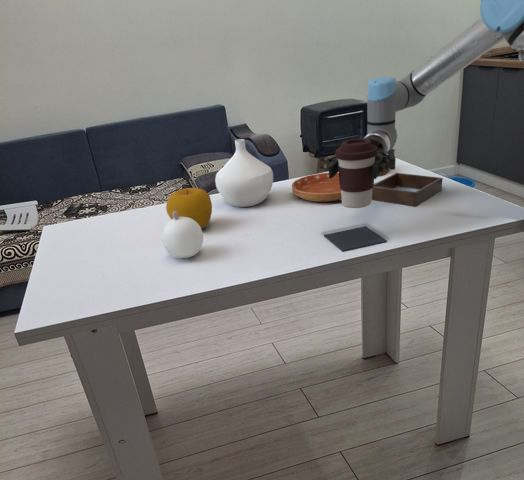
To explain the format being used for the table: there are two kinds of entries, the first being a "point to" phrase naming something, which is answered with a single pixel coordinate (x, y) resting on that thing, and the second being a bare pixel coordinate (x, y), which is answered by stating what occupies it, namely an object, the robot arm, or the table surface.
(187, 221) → the ornament
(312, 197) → the saucer
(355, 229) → the mat
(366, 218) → the table surface
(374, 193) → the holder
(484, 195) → the table surface
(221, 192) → the vase
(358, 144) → the coffee cup
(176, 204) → the apple
